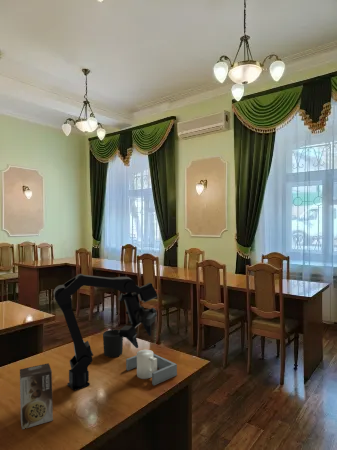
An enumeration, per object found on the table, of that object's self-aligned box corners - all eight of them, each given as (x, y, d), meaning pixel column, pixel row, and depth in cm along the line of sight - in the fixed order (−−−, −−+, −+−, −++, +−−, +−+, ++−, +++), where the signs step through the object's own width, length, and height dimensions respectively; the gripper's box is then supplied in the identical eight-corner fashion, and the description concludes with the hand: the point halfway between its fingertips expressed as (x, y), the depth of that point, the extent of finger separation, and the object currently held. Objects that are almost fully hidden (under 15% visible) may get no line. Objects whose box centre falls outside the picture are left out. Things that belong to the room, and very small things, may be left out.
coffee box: (50, 410, 107) (49, 362, 107) (53, 421, 101) (52, 370, 101) (20, 418, 103) (19, 368, 103) (21, 430, 97) (20, 377, 97)
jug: (133, 374, 132) (133, 352, 132) (146, 369, 137) (146, 348, 137) (148, 383, 125) (148, 360, 125) (162, 377, 129) (161, 355, 129)
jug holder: (154, 385, 123) (153, 373, 123) (126, 369, 137) (126, 359, 137) (176, 375, 131) (176, 364, 131) (148, 361, 145) (148, 351, 145)
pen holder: (126, 351, 156) (126, 330, 156) (117, 359, 147) (117, 337, 147) (109, 348, 159) (109, 328, 159) (99, 356, 150) (99, 335, 150)
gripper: (134, 317, 120) (145, 356, 121) (161, 296, 135) (171, 330, 137) (113, 317, 126) (124, 353, 128) (141, 297, 141) (150, 330, 143)
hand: (143, 341), depth 134 cm, fingers open, 9 cm apart
